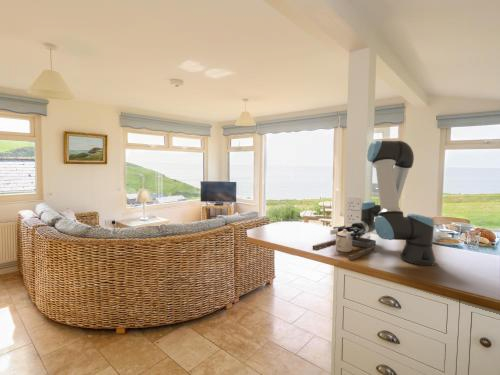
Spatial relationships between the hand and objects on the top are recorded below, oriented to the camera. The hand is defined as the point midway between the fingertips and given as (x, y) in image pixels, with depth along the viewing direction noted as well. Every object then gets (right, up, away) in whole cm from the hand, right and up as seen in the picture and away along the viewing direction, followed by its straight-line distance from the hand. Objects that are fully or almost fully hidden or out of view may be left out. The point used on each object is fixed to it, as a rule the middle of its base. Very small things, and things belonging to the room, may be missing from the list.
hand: (338, 233), depth 154 cm
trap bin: (+18, -9, +17) cm, 26 cm away
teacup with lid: (+3, -10, +4) cm, 11 cm away
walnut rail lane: (+4, -10, +4) cm, 11 cm away
